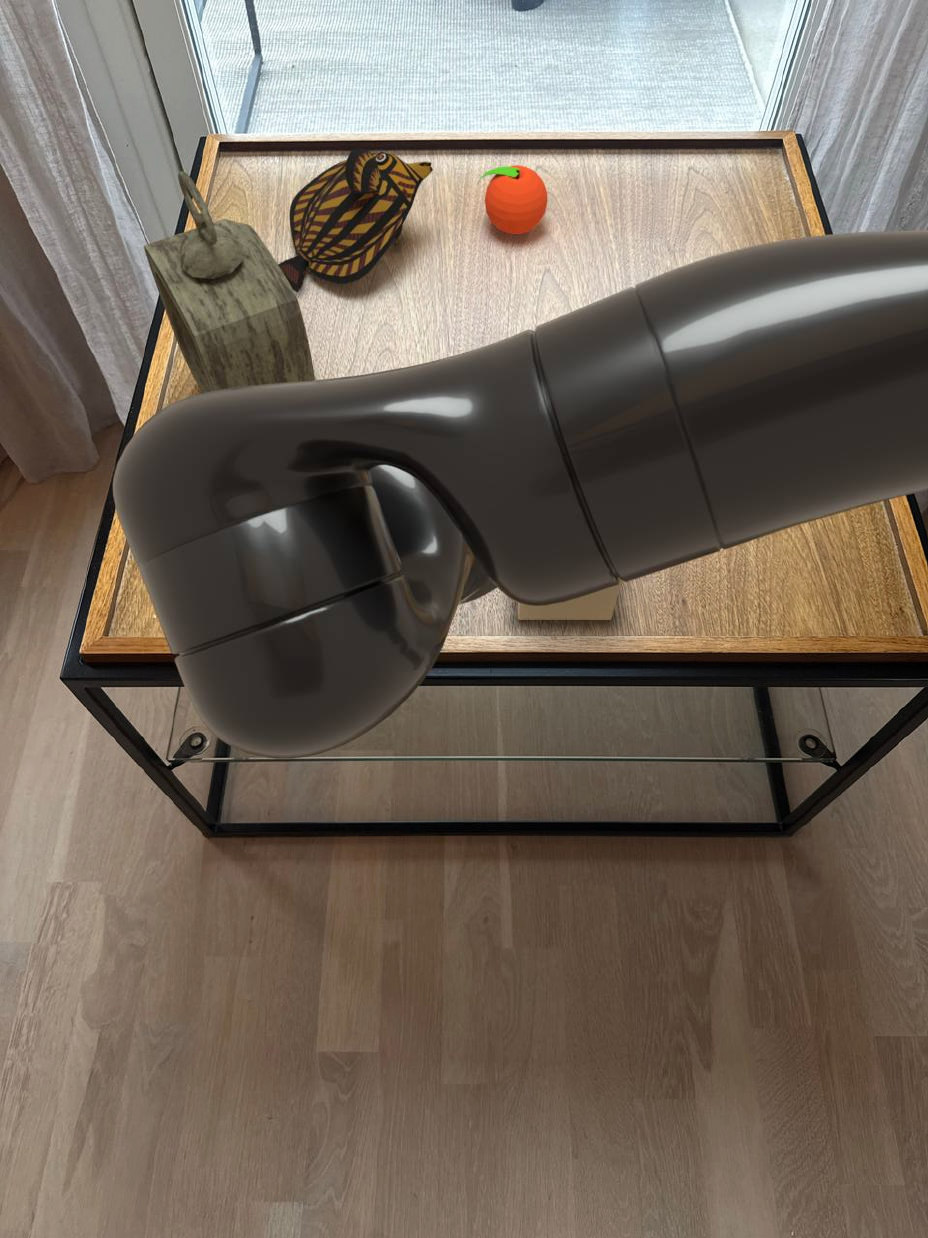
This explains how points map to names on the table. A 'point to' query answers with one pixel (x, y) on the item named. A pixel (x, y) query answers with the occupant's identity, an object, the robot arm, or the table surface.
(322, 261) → the decorative fish sculpture
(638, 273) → the table surface
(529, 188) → the clementine
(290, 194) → the table surface
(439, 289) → the table surface
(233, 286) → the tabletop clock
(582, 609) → the stand
